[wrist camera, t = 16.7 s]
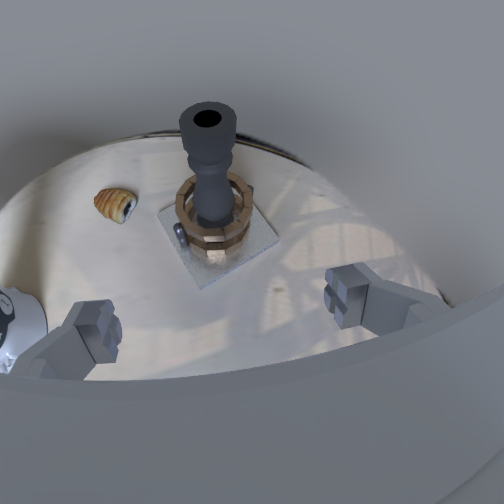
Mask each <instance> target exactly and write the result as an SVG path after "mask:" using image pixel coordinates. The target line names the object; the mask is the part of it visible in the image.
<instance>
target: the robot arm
mask: <svg viewBox="0 0 504 504" xmlns="http://www.w3.org/2000/svg"><path fill="white" fill-rule="evenodd" d="M325 280H326V281H327V283H328V284H327V286H326V287H325V289H324V301H325V305H326V308H327V309H328V311H329V312H330V313H333V314H335V315H334V320H335V321H336V323H337V324H338V326H339V327H340V329H341V330H342V329H346V328H351V327H355V326H359V325H361V326H362V327H364V328H366V329H367V330H369V331H371V332H373V333H374V334H376V335H378V336H379V337H376V338H373V339H370V340H367V341H364V342H360V343H357V344H354V345H350V346H347V347H343V348H339V349H336V350H332V351H328V352H324V353H320V354H316V355H312V356H308V357H304V358H300V359H295V360H291V361H286V362H281V363H276V364H271V365H266V366H260V367H255V368H249V369H243V370H237V371H230V372H223V373H216V374H208V375H199V376H190V377H179V378H167V379H152V380H129V381H84V378H85V377H86V376H87V375H88V374H89V373H90V371H91V370H92V369H93V368H94V367H95V366H96V364H103V363H115V362H116V358H117V354H118V351H119V350H118V348H117V345H118V344H119V343H120V342H121V339H122V327H121V323H120V321H119V318H118V317H116V316H115V315H114V314H113V313H114V310H115V308H114V306H113V303H112V301H111V300H109V299H105V300H93V301H81V302H76V303H74V305H73V306H72V308H71V310H70V312H69V313H68V315H67V317H66V319H65V320H64V322H63V324H62V326H60V327H57V328H56V329H54V330H53V331H51V332H50V333H49V334H47V324H46V318H45V314H44V311H43V309H42V306H41V305H40V303H39V302H38V300H37V299H36V298H35V297H33V296H32V295H30V294H26V293H21V292H20V291H19V290H18V289H17V288H15V287H11V288H10V289H8V288H4V287H1V286H0V504H504V284H503V285H500V286H498V287H497V288H494V289H493V290H491V291H489V292H487V293H485V294H483V295H481V296H479V297H477V298H475V299H473V300H471V301H469V302H466V303H464V304H462V305H460V306H458V307H455V308H453V309H451V308H450V307H449V306H448V305H447V304H446V303H445V302H444V301H442V300H441V299H440V298H439V297H438V296H436V295H433V294H430V293H427V292H423V291H420V290H417V289H414V288H411V287H408V286H404V285H401V284H398V283H395V282H392V281H388V280H384V281H383V280H382V279H381V278H380V277H379V276H378V275H377V274H376V273H375V272H373V271H372V270H371V269H370V268H369V267H368V266H367V265H366V264H364V263H363V262H359V263H354V264H350V265H345V266H340V267H335V268H330V269H327V270H326V273H325Z"/></svg>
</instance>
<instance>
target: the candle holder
mask: <svg viewBox="0 0 504 504" xmlns="http://www.w3.org/2000/svg"><path fill="white" fill-rule="evenodd" d="M236 118H237V117H236V115H235V112H234V110H233V109H231V108H230V107H229V106H228V105H225V104H222V103H219V102H203V103H197V104H195V105H193V106H191V107H189V108H188V109H186V110H185V111H184V112H183V113H182V114H181V117H180V119H179V125H180V130H181V136H182V142H183V147H184V149H185V150H186V151H187V153H188V154H189V155H188V163H189V167H190V168H191V169H192V170H193V172H194V173H196V184H195V189H194V193H193V197H192V202H193V206H194V209H195V211H196V212H197V219H196V221H197V225H199V226H201V227H203V228H205V229H209V228H223V227H225V226H227V225H229V224H231V223H232V222H234V216H233V213H232V210H231V209H232V208H233V206H234V200H235V197H234V193H233V190H232V188H231V186H230V183H229V181H228V178H227V169H228V168H229V167H230V165H231V163H232V158H233V155H232V152H231V150H232V147H233V146H234V143H235V138H236ZM223 242H225V241H222V242H209V243H223Z"/></svg>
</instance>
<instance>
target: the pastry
mask: <svg viewBox="0 0 504 504" xmlns="http://www.w3.org/2000/svg"><path fill="white" fill-rule="evenodd" d="M136 201H137V200H136V197H135V196H134V195H132V193H130V192H128V191H127V190H122V189H117V188H116V189H105V190H101V191H100V192H99V193H98V194H97V196H95V197H94V205H95V207H96V208H97V209H98V211H99V212H100V213H101V214H103V216H104V217H105V218H109V219H111V220H113V221H114V222H117V223H118V224H122V223H124V222H125V221H126V220H127V219H128V218H129V215H130V213H131V211H132V209H133V208H134V207H135V205H136Z"/></svg>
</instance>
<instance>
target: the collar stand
mask: <svg viewBox="0 0 504 504" xmlns="http://www.w3.org/2000/svg"><path fill="white" fill-rule="evenodd" d="M227 178H228V181H229V183H230V186H231V188H232V190H233V193H234V197H235V200H234V206H233V208H232V209H231V210H232V213H233V216H234V222H232V223H231V224H229V225H227V226H225V227H223V228H209V229H205V228H203V227H201V226H199V225H197V221H196V219H197V212H196V211H195V209H194V206H193V202H192V197H193V194H192V192H193V191H194V189H195V184H196V175H194V176H192V177H190V178H188V180H186V181H185V183H184V184H183V185H182V187H181V188H180V189H179V191H178V192H177V194H176V203H175V204H174V205H172V206H170V207H168V208H166V209H165V210H163V211H161V212H159V213H158V214H157V216H158V218H159V220H160V222H161V224H162V226H163V227H164V229H165V231H166V233H167V234H168V236H169V238H170V240H171V241H172V243H173V245H174V247H175V248H176V250H177V252H178V254H179V255H180V257H181V259H182V260H183V262H184V264H185V265H186V267H187V269H188V270H189V272H190V274H191V275H192V277H193V279H194V280H195V282H196V284H197V285H198V287H199V289H200V290H201V289H203V288H205V287H206V286H208V285H210V284H211V283H213V282H215V281H216V280H218V279H220V278H221V277H223V276H224V275H226V274H228V273H229V272H231V271H233V270H234V269H236V268H238V267H239V266H241V265H242V264H244V263H246V262H247V261H249V260H251V259H252V258H254V257H256V256H257V255H259V254H260V253H262V252H264V251H265V250H267V249H269V248H270V247H272V246H274V245H275V244H277V243H278V242H279V240H280V239H279V238H278V236H277V235H276V234H275V232H274V231H273V230H272V228H271V227H270V226H269V224H268V223H267V222H266V220H265V219H264V218H263V216H262V215H261V214H260V212H259V211H258V210H257V208H256V207H255V206H254V204H253V201H252V197H253V187H252V186H250V185H247V184H246V183H245V182H244V181H243V179H242V178H240V177H239V176H237V175H235V174H232V173H230V172H227ZM191 194H192V195H191ZM222 241H225V242H223V243H209V242H222Z"/></svg>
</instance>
